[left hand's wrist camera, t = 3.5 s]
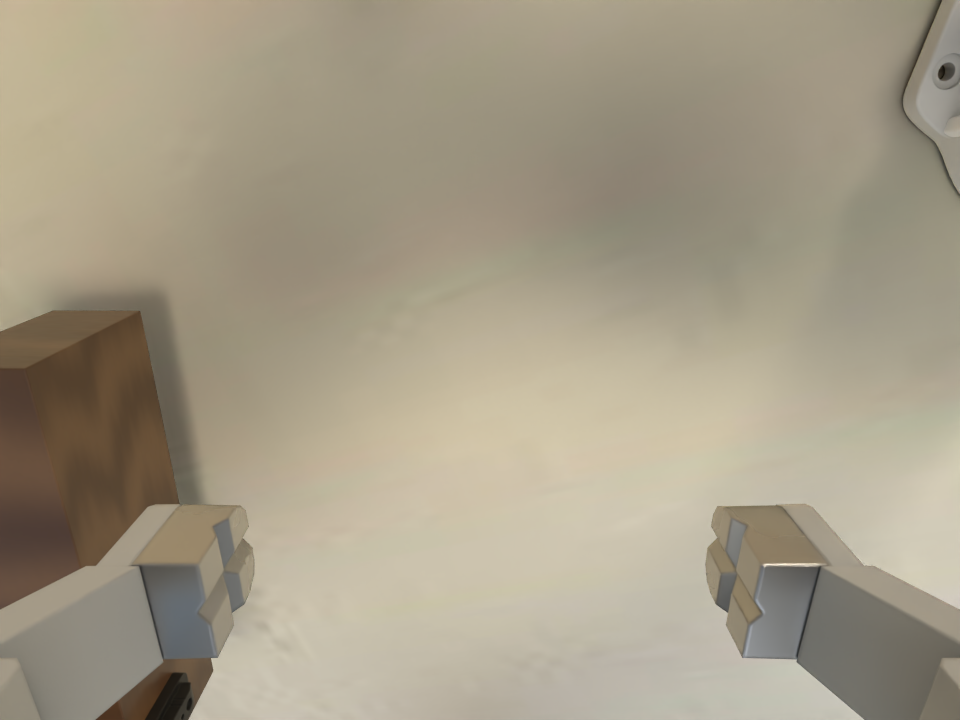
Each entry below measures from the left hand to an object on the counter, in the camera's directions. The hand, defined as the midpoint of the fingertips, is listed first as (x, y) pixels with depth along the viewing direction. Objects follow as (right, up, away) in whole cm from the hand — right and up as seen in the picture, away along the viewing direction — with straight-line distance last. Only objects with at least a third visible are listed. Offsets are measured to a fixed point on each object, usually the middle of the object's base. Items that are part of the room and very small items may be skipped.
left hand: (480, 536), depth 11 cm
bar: (-20, -6, +26) cm, 33 cm away
